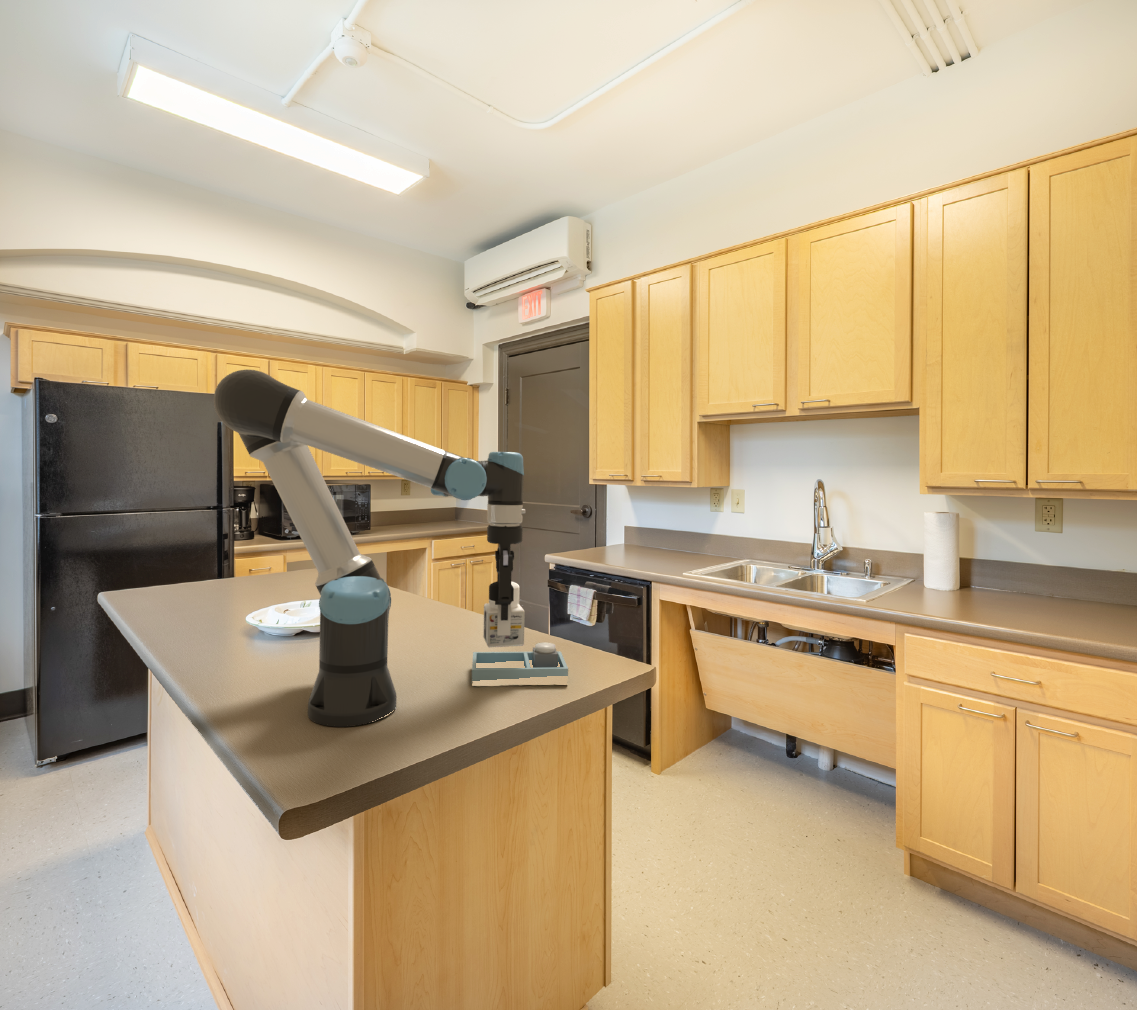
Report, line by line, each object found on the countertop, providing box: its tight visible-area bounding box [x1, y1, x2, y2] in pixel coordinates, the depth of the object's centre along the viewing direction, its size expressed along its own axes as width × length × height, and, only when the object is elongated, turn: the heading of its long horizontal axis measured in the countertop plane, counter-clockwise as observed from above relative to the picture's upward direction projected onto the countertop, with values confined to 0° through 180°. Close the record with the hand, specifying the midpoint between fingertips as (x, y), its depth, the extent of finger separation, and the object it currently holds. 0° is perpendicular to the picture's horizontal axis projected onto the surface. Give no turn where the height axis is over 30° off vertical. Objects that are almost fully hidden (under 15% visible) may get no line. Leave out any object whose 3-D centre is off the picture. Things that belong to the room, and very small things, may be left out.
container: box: [482, 580, 526, 648], centre depth 128 cm, size 8×8×13 cm
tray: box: [471, 641, 569, 682], centre depth 129 cm, size 20×12×7 cm, turn 98°
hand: (503, 629), depth 128 cm, fingers closed on container, 8 cm apart
